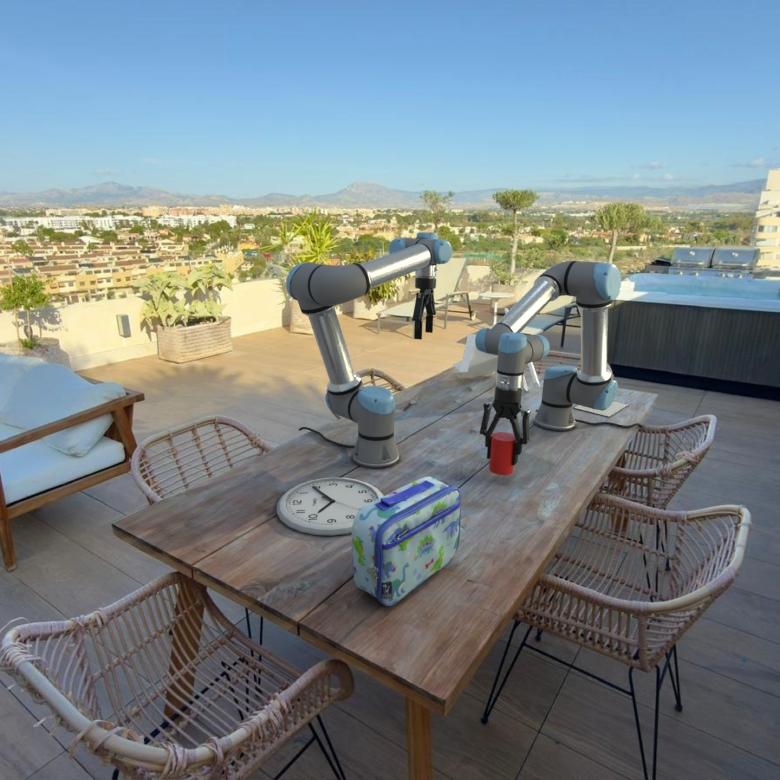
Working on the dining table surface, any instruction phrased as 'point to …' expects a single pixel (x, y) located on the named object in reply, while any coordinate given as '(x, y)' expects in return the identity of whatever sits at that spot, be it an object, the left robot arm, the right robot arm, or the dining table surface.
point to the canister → (502, 453)
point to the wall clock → (325, 505)
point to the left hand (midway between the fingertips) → (423, 335)
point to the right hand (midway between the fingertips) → (501, 460)
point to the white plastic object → (483, 362)
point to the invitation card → (608, 412)
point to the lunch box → (405, 538)
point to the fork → (411, 403)
